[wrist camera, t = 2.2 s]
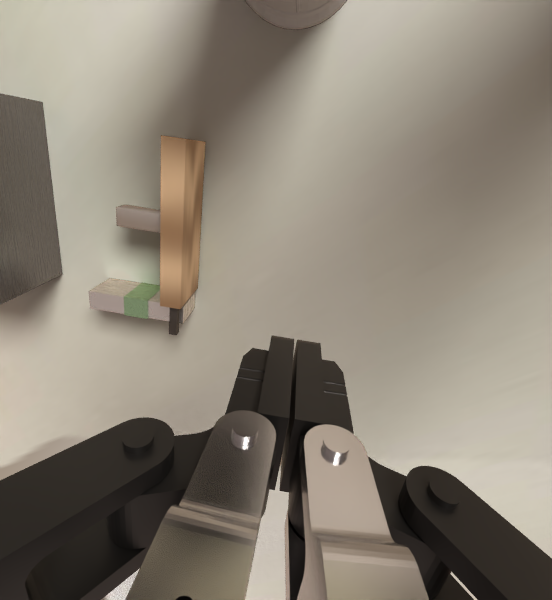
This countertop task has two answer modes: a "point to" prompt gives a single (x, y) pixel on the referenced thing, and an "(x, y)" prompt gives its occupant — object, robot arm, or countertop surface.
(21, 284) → the set of grey blocks
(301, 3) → the black and white mug
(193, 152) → the tan wooden bar
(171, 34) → the countertop surface
